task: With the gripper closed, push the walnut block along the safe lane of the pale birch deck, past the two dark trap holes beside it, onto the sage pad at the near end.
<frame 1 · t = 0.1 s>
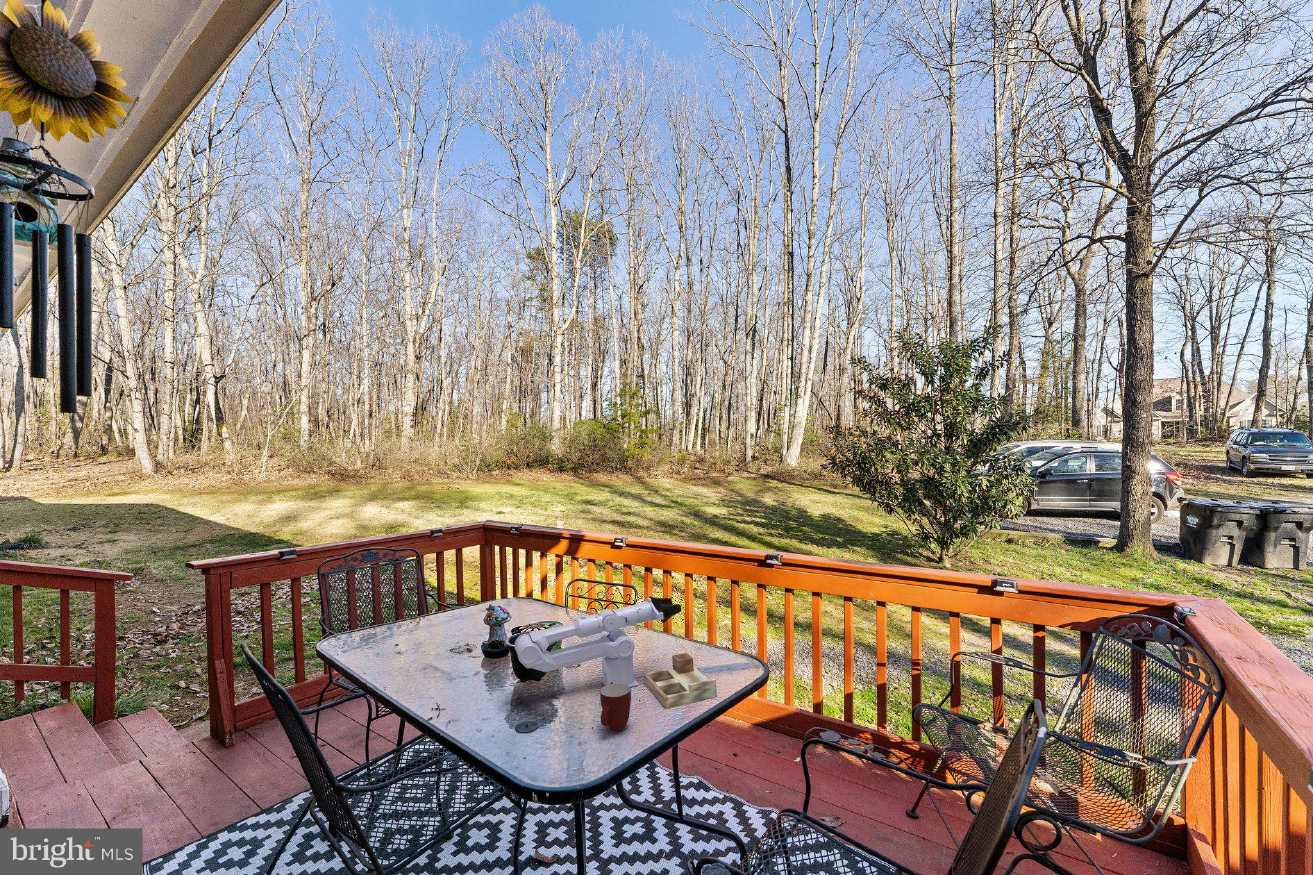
hand: (676, 604, 182), 22 cm above the table, tool horizontal, fingers open, 7 cm apart
walnut block: (683, 669, 176), point 3 cm above the table, touching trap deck
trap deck: (679, 689, 169), on the table
mug: (615, 730, 148), on the table
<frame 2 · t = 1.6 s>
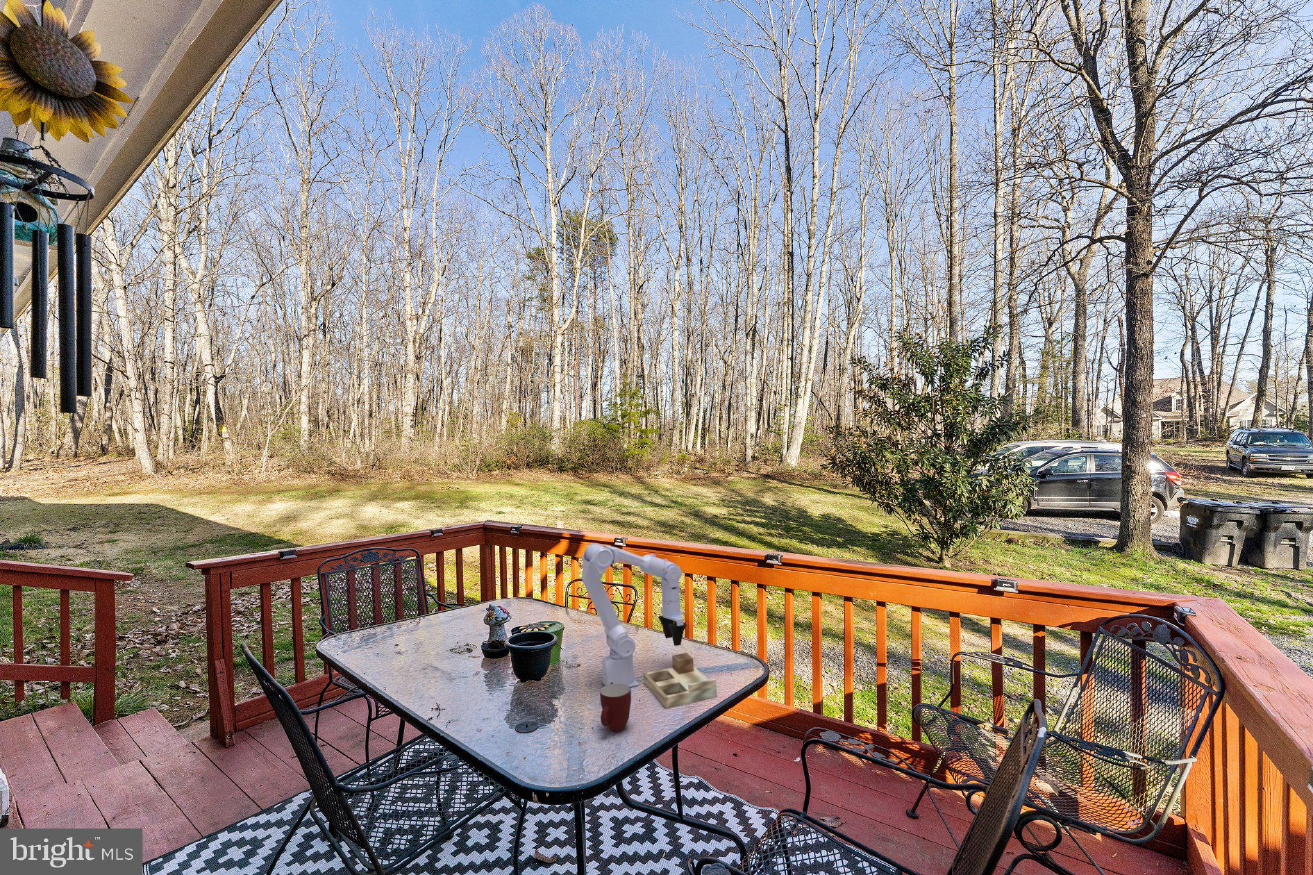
hand: (673, 641, 183), 9 cm above the table, tool pointing down, fingers open, 7 cm apart
nothing on the table moved.
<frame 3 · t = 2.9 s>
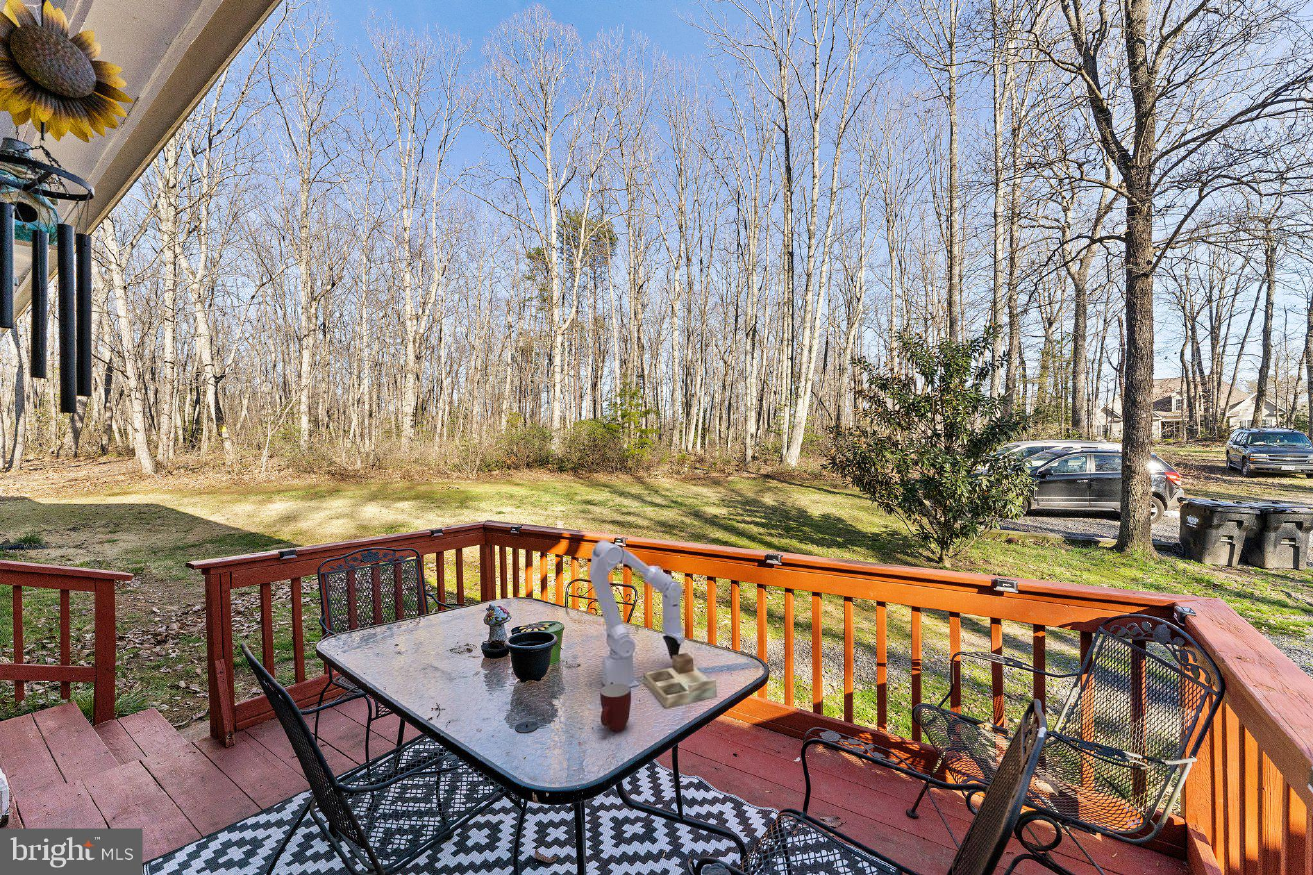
hand: (673, 658, 183), 4 cm above the table, tool pointing down, fingers closed
nothing on the table moved.
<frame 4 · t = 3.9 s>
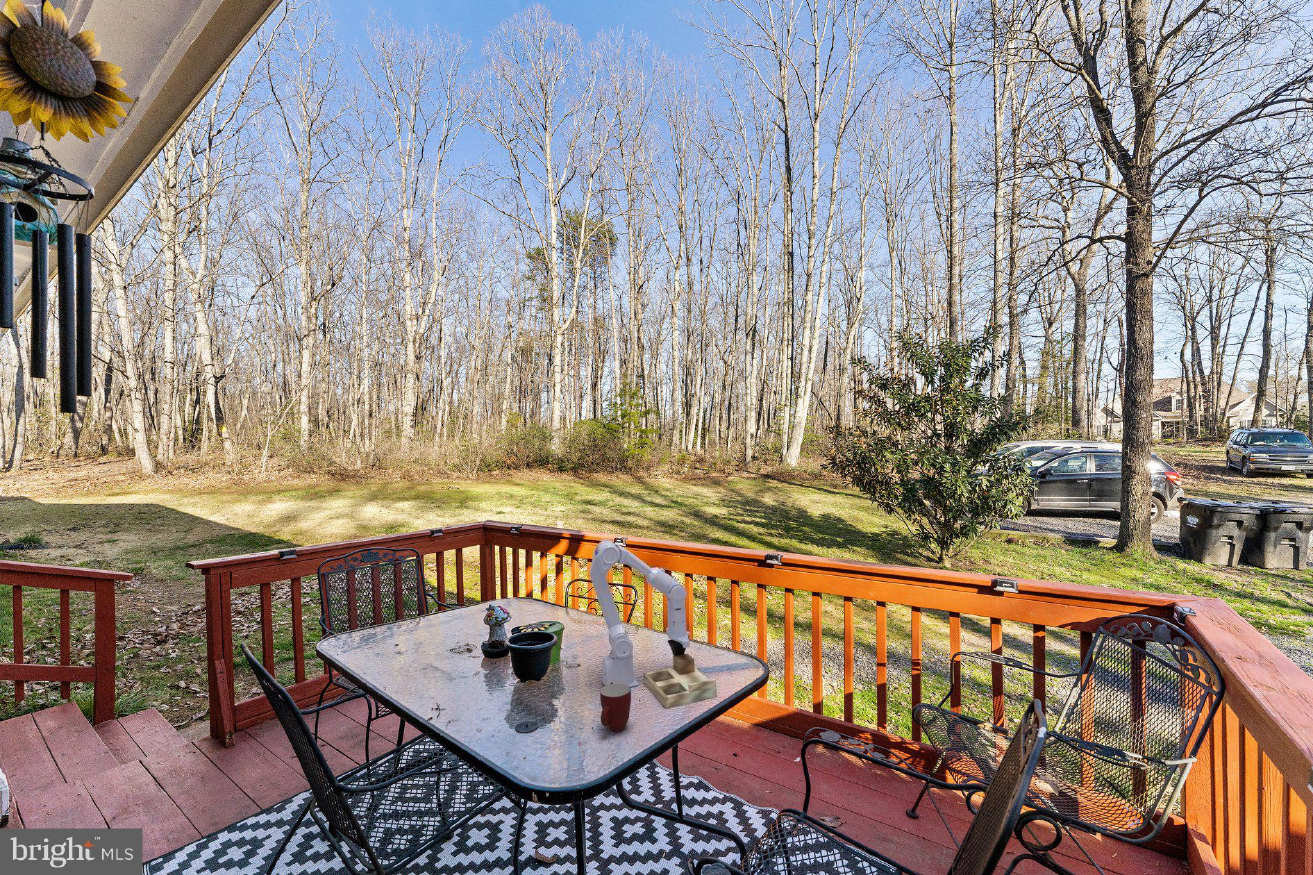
hand: (678, 662, 179), 4 cm above the table, tool pointing down, fingers closed
walnut block: (684, 670, 176), point 3 cm above the table, touching gripper
everything else where it was.
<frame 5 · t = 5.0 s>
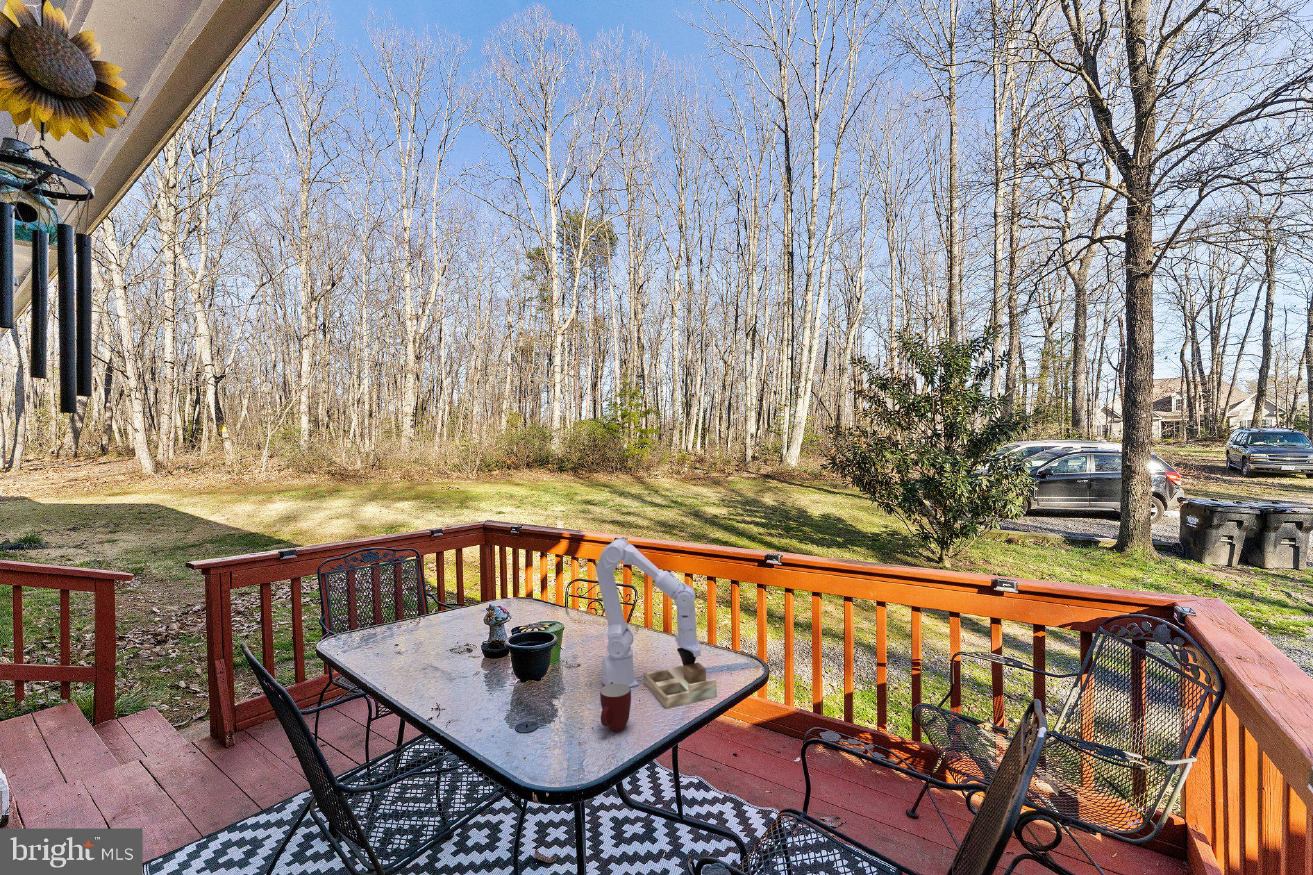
hand: (688, 672, 172), 4 cm above the table, tool pointing down, fingers closed
walnut block: (695, 680, 168), point 3 cm above the table, touching gripper, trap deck
everything else where it was.
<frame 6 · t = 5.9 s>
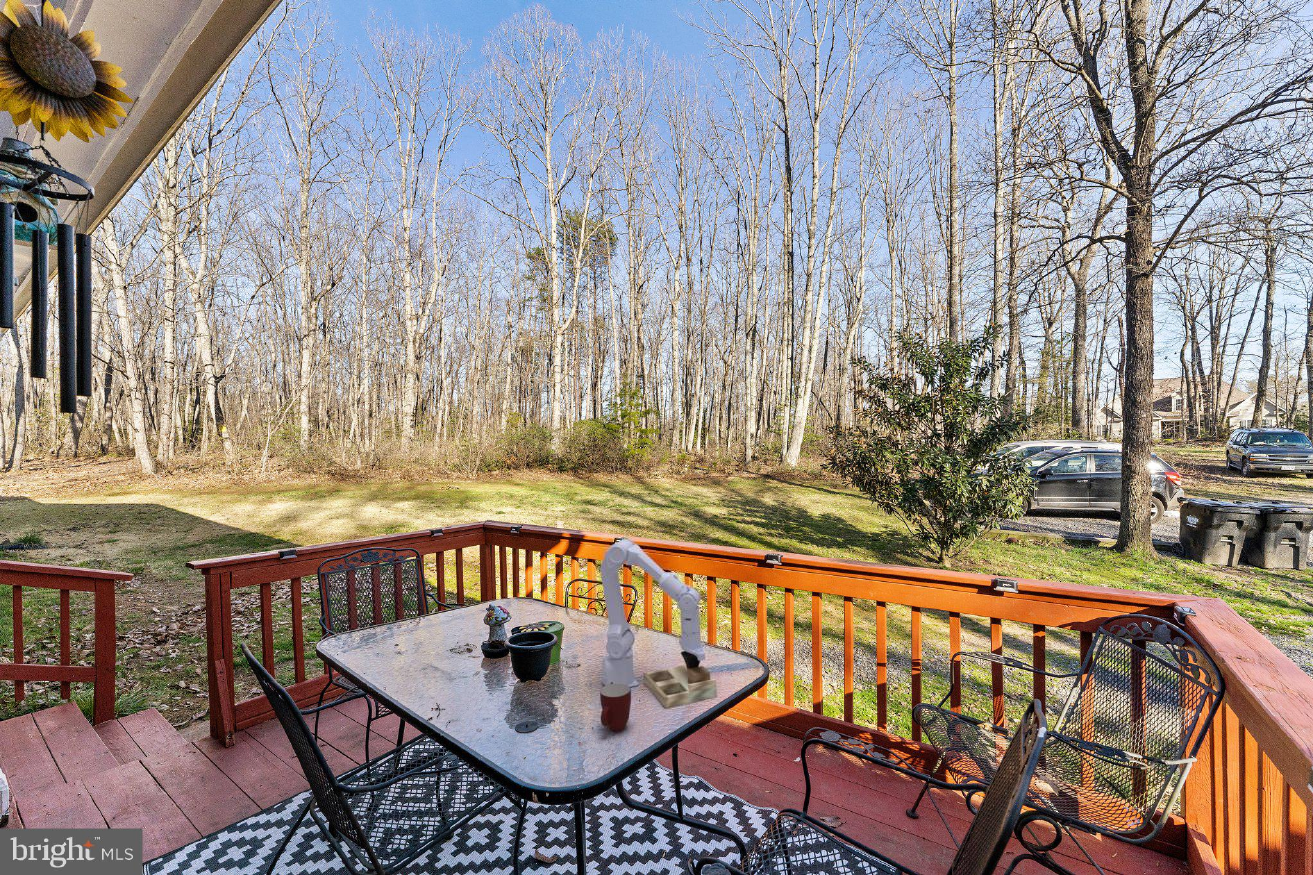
hand: (692, 676, 169), 4 cm above the table, tool pointing down, fingers closed
walnut block: (699, 684, 166), point 3 cm above the table, touching gripper, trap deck
everything else where it was.
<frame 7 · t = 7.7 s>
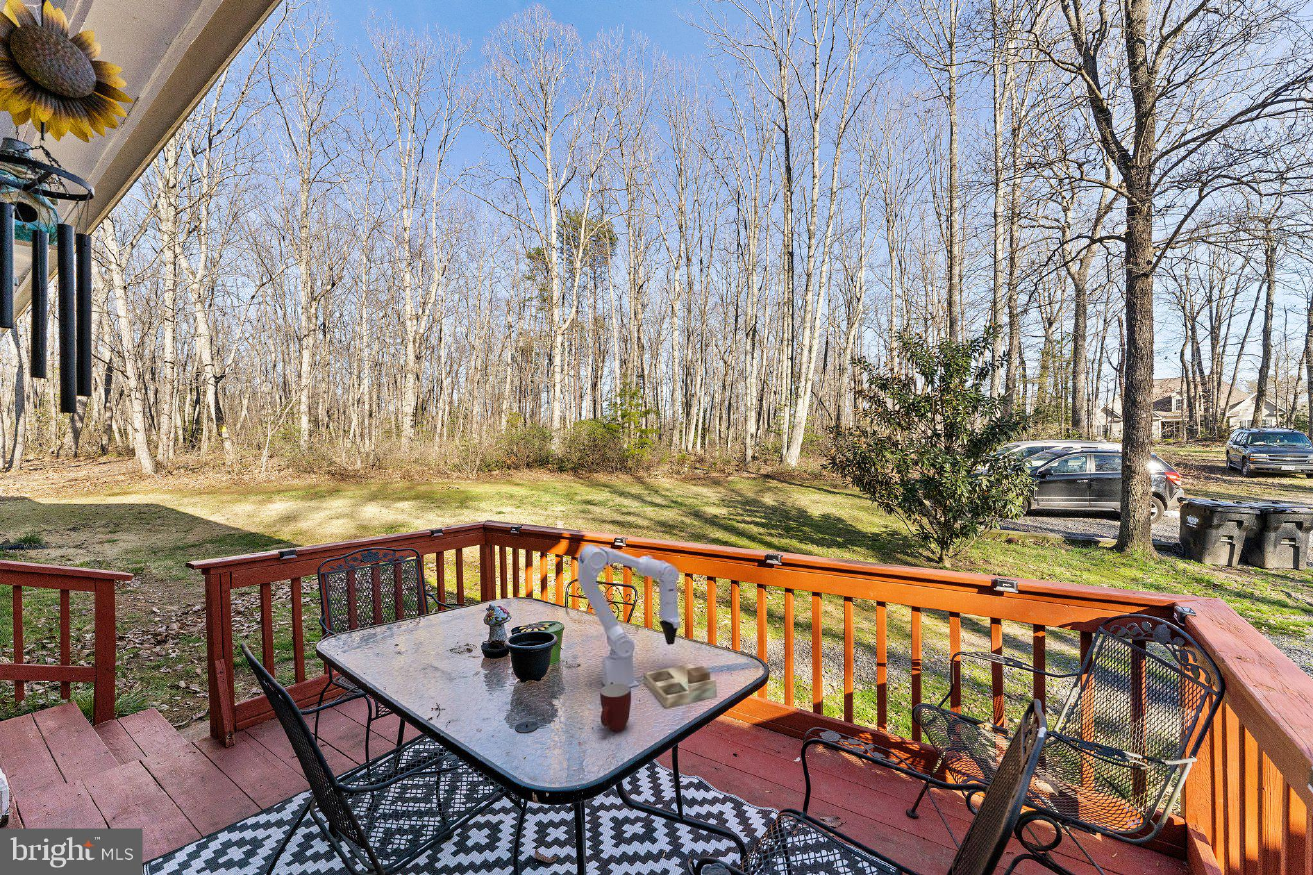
hand: (670, 643, 181), 9 cm above the table, tool pointing down, fingers closed
walnut block: (699, 684, 166), point 3 cm above the table, touching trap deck
everything else where it was.
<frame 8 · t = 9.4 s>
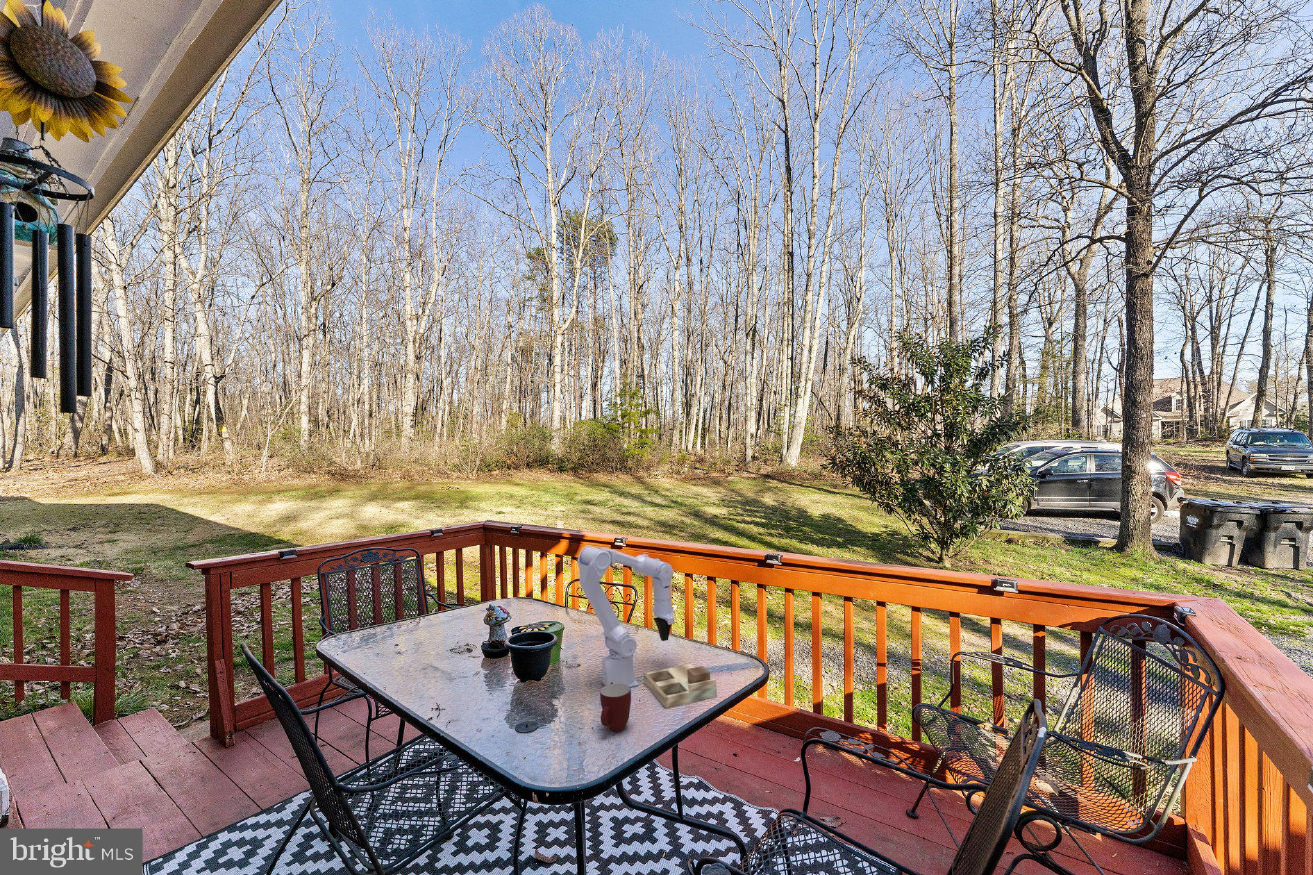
hand: (664, 639, 185), 9 cm above the table, tool pointing down, fingers closed
nothing on the table moved.
at the end: walnut block 0.5 cm from the target spot, point 3.0 cm above the table; walnut block tilted 0°; walnut block moved 11.5 cm from its start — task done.
